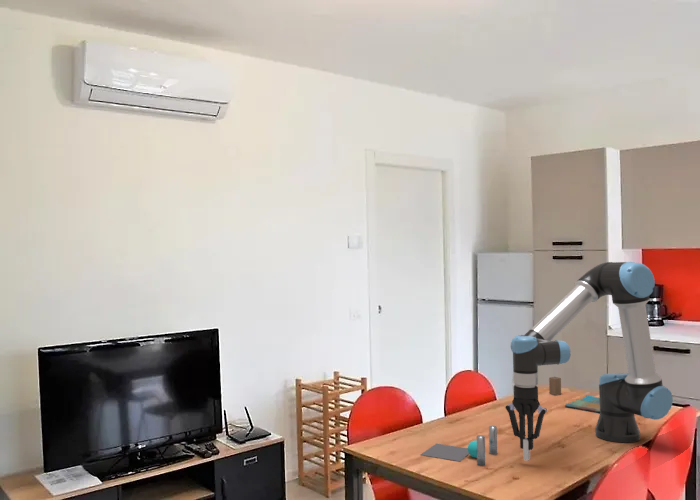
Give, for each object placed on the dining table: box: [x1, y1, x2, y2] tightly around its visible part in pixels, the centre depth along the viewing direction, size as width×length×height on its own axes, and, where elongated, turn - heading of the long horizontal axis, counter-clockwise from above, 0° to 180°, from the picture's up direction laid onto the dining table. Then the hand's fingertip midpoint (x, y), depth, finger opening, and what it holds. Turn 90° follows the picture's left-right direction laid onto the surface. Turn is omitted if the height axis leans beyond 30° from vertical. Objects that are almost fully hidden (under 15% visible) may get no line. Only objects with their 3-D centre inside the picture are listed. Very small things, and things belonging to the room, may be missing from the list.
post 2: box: [488, 425, 498, 456], centre depth 208 cm, size 3×3×9 cm
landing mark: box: [419, 443, 470, 463], centre depth 210 cm, size 14×14×1 cm
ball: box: [467, 439, 477, 459], centre depth 204 cm, size 6×6×6 cm
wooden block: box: [548, 376, 562, 396], centre depth 294 cm, size 4×4×8 cm
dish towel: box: [564, 394, 600, 415], centre depth 271 cm, size 17×23×3 cm
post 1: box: [476, 434, 486, 467], centre depth 197 cm, size 3×3×9 cm
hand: (526, 459), depth 196 cm, fingers closed
